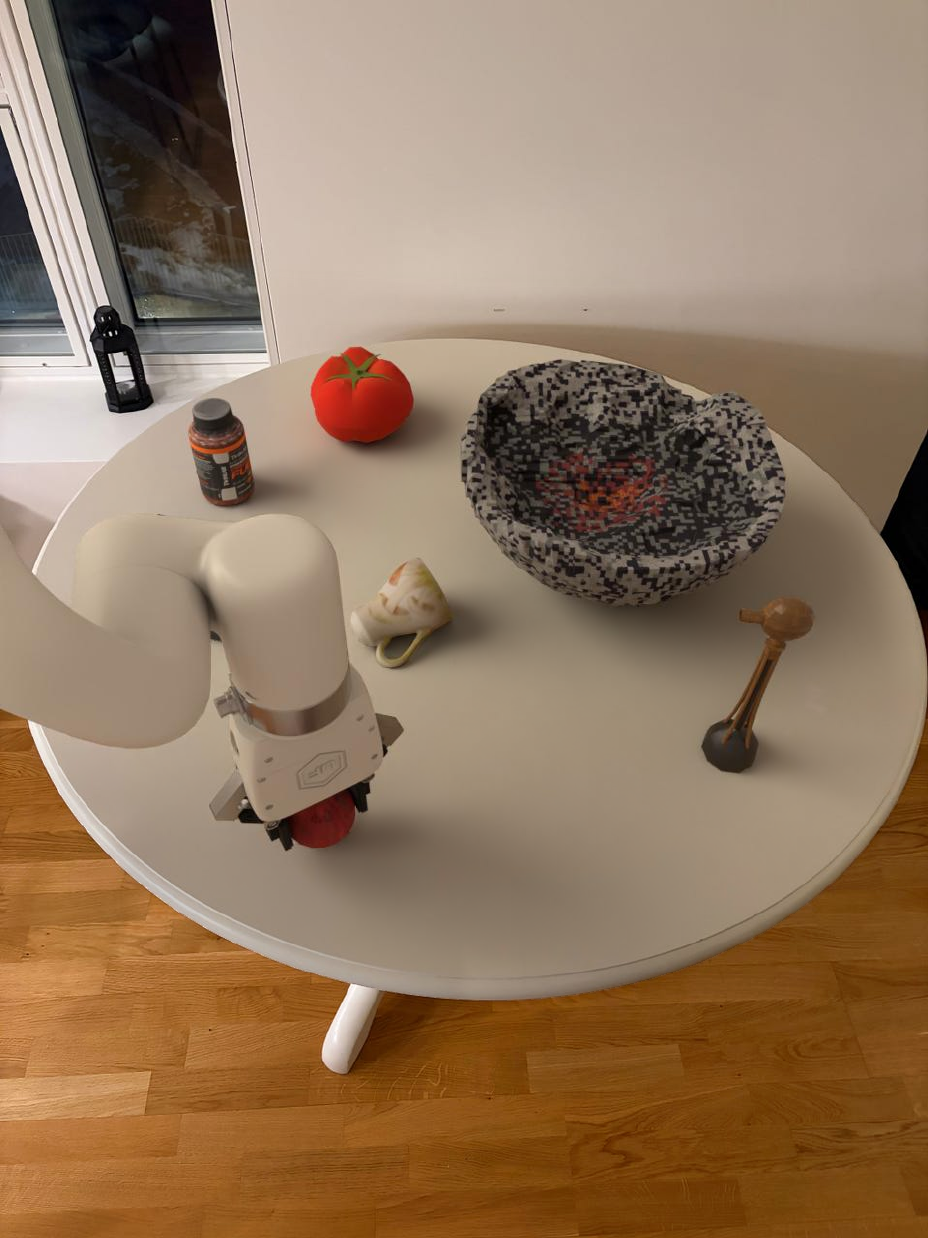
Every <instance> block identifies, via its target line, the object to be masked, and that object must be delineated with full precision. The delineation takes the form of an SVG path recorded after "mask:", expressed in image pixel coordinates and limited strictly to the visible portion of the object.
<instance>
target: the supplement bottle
mask: <svg viewBox="0 0 928 1238" xmlns="http://www.w3.org/2000/svg"><path fill="white" fill-rule="evenodd" d="M191 411H192V416H193V418H192V419H193V420H192V422H191V423H190V424H189V427H188V430H187V435H188V439H189V444H190V447H191V448H190V449H191V452H192V456H193V461H194V465H195V469H196V475H197V477H198V482H199V486H200V490H201V494H202V496H203V497H204V498H205V500H206V501H208V502H210V503H211V504H214V505H217V506H234V505H237V504H240V503H242V502H244V501H245V500H247V499H248V498H250V496H251V495H252V494H253V493H254V489H255V483H254V475H253V470H252V464H251V458H250V453H249V447H248V441H247V436H246V432H245V427H244V423H243V421H242V420H241V419H240V418H239V417H237V416H236V415H234V414H233V411H232V406H231V404H230V403H229V402H228V400H226V399H223V398H219V397H209V398H204V399H201V400H199V401H198V402H196V403H195V404H194V405H193V407H192V410H191Z"/></svg>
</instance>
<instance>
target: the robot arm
mask: <svg viewBox="0 0 928 1238" xmlns="http://www.w3.org/2000/svg"><path fill="white" fill-rule="evenodd" d="M163 515H164V514H160V515H158V514H150V513H149V514H148V513H147V514H146V513H136V514H134V513H133V514H132V513H131V514H121V515H117V516H112V517H109V518H106V519H103V520H101V521H100V522H98V523H96V524H95V525H93V526H92V527H90V529H89V530H88V531H87V532H85V534H84V535H83V537H82V538H81V541H80V543H79V545H78V548H77V552H76V556H75V560H74V568H73V577H72V585H71V597H70V603H69V606H68V605H67V604H66V603H65V602H63V601H62V600H61V599H59V598H58V597H57V596H56V595H55V594H54V593H53V592H52V591H51V590H49V588H48V587H46V585H44V584H43V583H42V582H41V581H40V579H39V578H38V577H37V576H36V575H35V574H34V572H33V571H32V570H31V569H30V567H29V566H28V565H27V564H26V563H25V561H24V560H23V558H22V557H21V555H20V554H19V552H18V550H17V549H16V548H15V546H14V545H13V543H12V541H11V540H10V538H9V536H8V534H7V532H6V530H5V528H4V526H3V525H2V523H1V522H0V710H2V711H5V712H6V713H9V714H12V715H14V716H16V717H19V718H22V719H25V720H27V721H29V722H32V723H35V724H37V725H39V726H42V727H46V728H48V729H50V730H52V731H55V732H59V733H61V734H64V735H67V736H69V737H71V738H75V739H79V740H82V741H85V742H89V743H92V744H96V745H100V746H104V747H105V746H106V747H109V748H117V749H119V748H120V749H127V750H128V749H130V750H131V749H134V750H136V749H138V750H139V749H149V748H156V747H160V746H163V745H167V744H169V743H172V742H174V741H176V740H178V739H180V738H182V737H183V736H185V735H186V734H187V733H188V732H190V730H192V729H193V728H194V727H195V726H196V725H197V723H198V722H199V720H200V719H201V717H202V716H203V714H204V713H205V710H206V707H207V704H208V702H209V699H210V694H211V683H212V682H211V681H212V680H211V679H212V639H211V634H210V630H211V631H214V632H215V633H217V634H218V635H219V637H220V638H221V641H222V642H221V641H220V642H221V644H222V647H223V650H224V654H225V658H226V661H227V665H228V667H229V668H228V669H229V672H230V673H228V674H227V675H228V679H229V683H230V686H229V687H228V689H227V690H226V691H225V692H223V695H220V696H218V697H216V698H214V699H213V703H214V706H215V709H216V712H217V713H218V715H219V717H220V719H224V718H227V717H229V720H228V725H229V727H228V729H229V730H228V731H229V742H230V750H231V755H232V759H233V764H234V768H235V770H234V772H233V773H232V774H231V776H230V777H229V778H228V780H227V781H226V782H225V783H224V785H223V786H222V787H221V789H220V790H219V791H218V793H217V794H216V795H215V797H214V798H213V799H212V800H211V801H210V802H209V805H208V807H209V810H210V812H211V814H212V816H213V818H214V820H215V821H217V822H235V821H236V820H237V821H239V822H240V823H241V824H247V825H249V824H251V825H263V826H264V830H265V832H266V834H267V836H268V838H269V840H270V841H271V842H272V843H273V842H274V841H277V840H279V841H280V844H281V845H282V847H283V850H284V851H285V852H288V851H290V850H292V849H293V847H294V846H295V845H294V840H293V839H292V837H291V833H290V829H289V825H288V823H287V820H286V819H285V817H288V816H290V815H292V814H294V813H297V812H299V811H301V810H303V809H305V808H307V807H309V806H311V805H313V804H316V803H318V802H320V801H322V800H324V799H326V798H328V797H330V796H332V795H334V794H336V793H338V792H340V791H342V790H344V789H346V788H348V790H349V791H350V793H351V794H352V796H353V798H354V802H355V810H357V812H358V814H360V813H361V814H363V813H366V812H368V810H369V807H368V796H367V795H369V794H371V784H370V783H371V781H372V780H374V779H375V776H376V772H377V771H378V770H379V769H380V767H381V765H382V763H383V760H384V758H385V757H386V756H387V754H388V752H389V749H388V747H392V745H393V744H394V743H395V742H396V741H397V740H398V739H399V737H401V735H403V733H404V731H405V729H404V726H403V725H402V724H401V722H400V721H399V720H398V718H397V717H396V716H393V715H387V714H383V713H378V712H375V709H374V705H373V701H372V698H371V696H370V693H369V691H368V687H367V685H366V683H365V681H364V678H363V677H362V675H361V674H360V673H359V672H358V670H357V669H356V668H355V667H354V665H353V664H352V663H351V662H350V658H349V657H350V656H349V647H348V639H347V631H346V624H345V615H344V614H345V613H344V605H343V604H344V603H343V596H342V588H341V587H342V585H341V577H340V567H339V562H338V557H337V553H336V550H335V548H334V546H333V543H332V542H331V540H330V539H329V537H328V536H327V535H326V533H325V532H324V531H323V530H322V529H321V528H319V526H317V525H316V524H314V523H312V522H310V521H309V520H307V519H306V518H305V519H304V518H302V517H300V516H296V515H292V514H287V513H266V514H259V515H254V516H251V517H247V518H244V519H242V520H240V521H219V520H208V519H198V518H190V517H189V518H188V517H179V516H171V515H165V516H163Z"/></svg>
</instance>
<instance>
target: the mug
mask: <svg viewBox="0 0 928 1238" xmlns="http://www.w3.org/2000/svg"><path fill="white" fill-rule="evenodd" d="M454 617H455V615H454V611H453V609H452V607H451V604H450V602H449V601H448V599H447V597H446V595H445V593H444V592H443V590H442V588H441V586H440V584H439V583H438V581H437V580H436V578H435V576H434V575H433V573H432V572H431V571H430V569H429V568H428V566H427V565H426V563H425V562H424V561H423V560H422V559H421V558H420V557H416V558H413V559H411V560H408V561H405V562H404V563H403V564H401V565H400V566H399V567H398V568H397V569H395V570H394V572H393V573H392V574H391V575H390V577H389V578H388V579H387V580H386V582H385V583H384V584H383V586H382V587H381V588H380V590H379V591H378V592H377V593H376V594H375V596H374V597H372V598H371V599H370V600H369V601H368V602H366V603H365V604H363V605H361V606H359V607H358V608H356V609H355V610H353V611H352V613H351V616H350V619H349V624H350V626H351V630H352V632H353V634H354V636H355V637H356V638H357V639H358V641H359V642H360V643H362V644H363V645H365V646H367V647H368V646H369V647H376V651H375V658H376V661H377V662H378V663H379V665H381V666H383V667H385V668H396V667H399V666H401V665H403V664H404V663H407V662H408V660H409V659H411V657H412V656H413V655H414V653H415V651H417V649H418V647H419V646H420V645H421V644H422V643H423V642H424V640H425V639H427V638H428V637H429V636H430V635H432V634H433V632H434V631H435V630H436V629H439V628H441V627H443V626H444V625H446V624H448V622H450V621H451V620H453V618H454ZM411 634H416V635H415V637H414V639H413V641H412V642H411V645H410V646H409V647H408V648H407V650H406V651H405V652H404V653H403V655H401V656H400V657H399V658H395V659H394V658H393V659H391V658H389V657H388V656H387V655H386V653H385V650H386V648H387V646H388V645H390V643H391V640H392V638H395V637H397V636H403V635H411Z"/></svg>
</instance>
